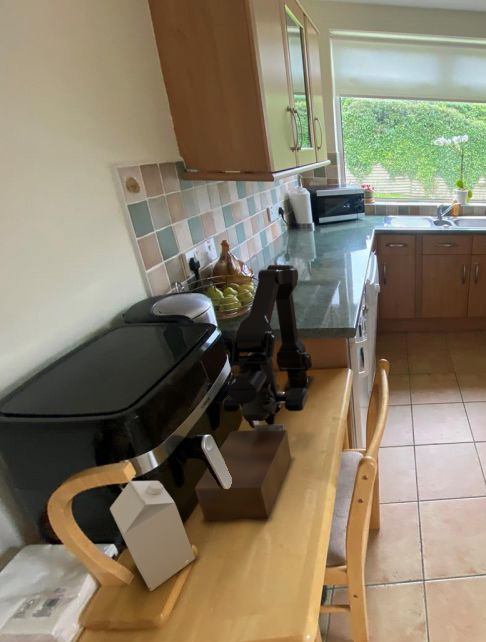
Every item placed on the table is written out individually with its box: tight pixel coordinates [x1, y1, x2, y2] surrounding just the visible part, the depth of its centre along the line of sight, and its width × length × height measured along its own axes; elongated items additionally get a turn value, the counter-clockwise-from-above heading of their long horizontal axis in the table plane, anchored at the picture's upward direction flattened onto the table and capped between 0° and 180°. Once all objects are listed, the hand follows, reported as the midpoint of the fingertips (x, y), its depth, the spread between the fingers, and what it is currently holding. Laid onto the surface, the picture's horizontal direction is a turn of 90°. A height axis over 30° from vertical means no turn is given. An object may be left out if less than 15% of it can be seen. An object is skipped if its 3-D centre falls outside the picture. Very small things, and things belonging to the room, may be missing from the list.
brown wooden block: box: [194, 430, 292, 521], centre depth 81 cm, size 16×13×9 cm
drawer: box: [250, 423, 287, 432], centre depth 85 cm, size 19×11×7 cm, turn 3°
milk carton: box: [109, 480, 196, 592], centre depth 64 cm, size 7×7×19 cm
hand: (272, 425), depth 94 cm, fingers closed, pressing on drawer
